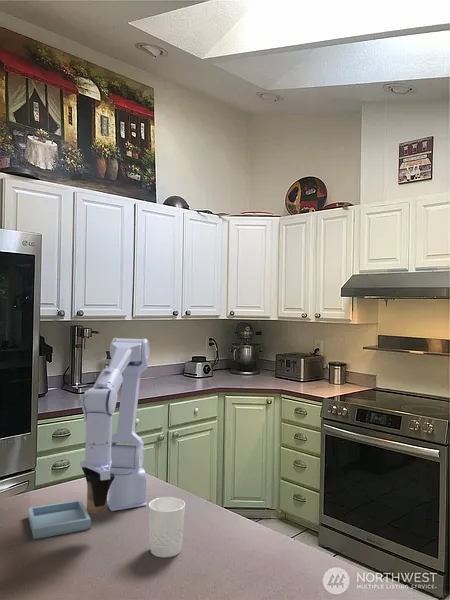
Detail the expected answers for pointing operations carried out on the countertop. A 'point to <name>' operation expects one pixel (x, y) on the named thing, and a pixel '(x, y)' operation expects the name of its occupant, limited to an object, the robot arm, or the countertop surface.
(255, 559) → the countertop surface
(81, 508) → the light blue square tray
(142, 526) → the countertop surface
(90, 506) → the tan rounded cylinder
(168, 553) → the white cup
